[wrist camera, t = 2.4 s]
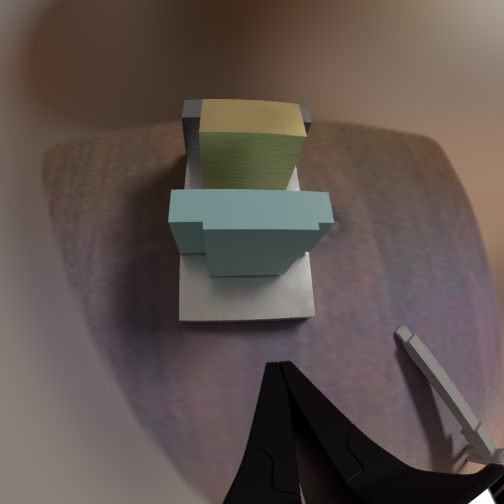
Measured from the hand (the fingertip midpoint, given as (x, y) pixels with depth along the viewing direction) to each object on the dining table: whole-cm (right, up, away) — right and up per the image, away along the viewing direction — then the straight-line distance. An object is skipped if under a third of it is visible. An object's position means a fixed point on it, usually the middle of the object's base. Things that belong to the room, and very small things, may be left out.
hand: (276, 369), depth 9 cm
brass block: (-2, +10, +12) cm, 16 cm away
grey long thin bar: (+17, -10, +9) cm, 22 cm away
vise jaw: (-1, +4, +10) cm, 11 cm away
